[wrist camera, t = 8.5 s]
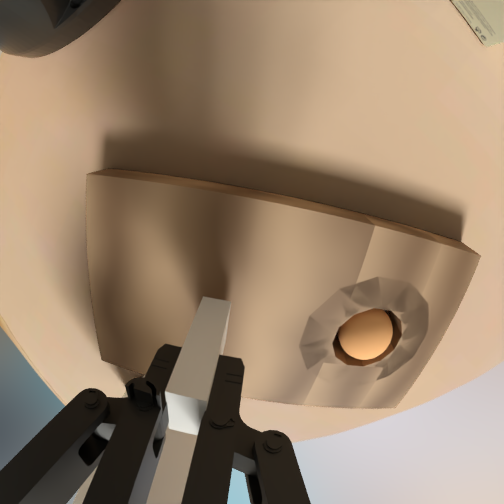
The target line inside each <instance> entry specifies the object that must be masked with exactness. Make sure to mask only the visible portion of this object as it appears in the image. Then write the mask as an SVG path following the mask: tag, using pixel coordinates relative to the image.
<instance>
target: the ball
mask: <svg viewBox="0 0 504 504" xmlns="http://www.w3.org/2000/svg"><path fill="white" fill-rule="evenodd" d="M392 334H393V328H392V323H391V320H390V318H389V316H388V315H387V313H386V312H385V311H384V310H382V309H376V308H373V309H370V310H367V311H364V312H361V313H358V314H354V315H353V316H352V317H351V318H350V319H349V320H347V321H346V322H345V323H344V324H343V325H342V326H340V327H339V341H340V344H341V346H342V348H343V349H344V350H345V352H346V353H347V354H349V355H350V356H352V357H354V358H356V359H361V360H368V359H372V358H375V357H377V356H379V355H380V354H382V353H383V352H384V351H385V350H386V349H387V347H388V346H389V344H390V342H391V339H392Z"/></svg>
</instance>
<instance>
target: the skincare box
mask: <svg viewBox="0 0 504 504" xmlns="http://www.w3.org/2000/svg"><path fill="white" fill-rule="evenodd" d="M451 1H452V3H453V4H454V5H455V6H456V7H457V9H458V10H459V11H460V13H461V14H462V15H463V17H464V18H465V19H466V21H467V22H468V23H469V25H470V26H471V28H472V29H473V30H474V32H475V33H476V34H477V36H478V37H479V39H480V40H481V42H482V43H483V45H484V46H485V47H490V46H493V45H496V44H500V43H503V42H504V0H451Z"/></svg>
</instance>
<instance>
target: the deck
mask: <svg viewBox="0 0 504 504" xmlns="http://www.w3.org/2000/svg"><path fill="white" fill-rule="evenodd" d="M86 241H87V259H88V272H89V282H90V292H91V300H92V308H93V315H94V321H95V327H96V333H97V339H98V344H99V349H100V354H101V359H102V360H103V361H106V362H108V363H111V364H114V365H117V366H120V367H123V368H126V369H129V370H132V371H135V372H138V373H141V374H145V375H146V373H147V371H148V368H149V366H150V365H151V362H152V360H153V359H154V356H155V354H156V352H157V350H158V349H159V348H160V347H162V346H163V345H164V344H165V343H166V344H170V345H174V346H178V347H183V344H184V342H185V339H186V337H187V334H188V332H189V329H190V327H191V325H192V322H193V320H194V317H195V315H196V312H197V310H198V308H199V305H200V303H201V300H202V298H203V296H204V297H209V298H214V299H220V300H225V301H230V302H231V307H230V314H229V321H228V328H227V335H226V341H225V346H224V350H223V355H225V356H230V357H236V358H241V359H242V361H243V364H244V366H245V370H244V377H243V385H242V393H241V397H243V398H249V399H255V400H262V401H269V402H277V403H285V404H294V405H304V406H317V407H333V408H368V409H374V408H396V407H397V405H398V404H399V403H400V401H401V400H402V399H403V397H404V396H405V395H406V393H407V392H408V391H409V389H410V388H411V386H412V385H413V384H414V382H415V381H416V379H417V378H418V376H419V375H420V373H421V372H422V370H423V369H424V367H425V366H426V364H427V363H428V361H429V359H430V358H431V356H432V355H433V353H434V351H435V350H436V348H437V346H438V345H439V343H440V341H441V339H442V338H443V336H444V334H445V332H446V330H447V329H448V327H449V325H450V323H451V321H452V319H453V317H454V315H455V313H456V312H457V310H458V308H459V305H460V303H461V301H462V299H463V297H464V295H465V293H466V291H467V288H468V286H469V284H470V282H471V279H472V277H473V275H474V272H475V270H476V267H477V265H478V262H479V260H480V257H481V256H480V255H479V254H478V253H476V252H475V251H474V250H472V249H471V248H469V247H468V246H466V245H465V244H464V243H462V242H460V241H457V240H453V239H450V238H447V237H444V236H441V235H438V234H434V233H431V232H428V231H424V230H421V229H418V228H414V227H411V226H407V225H404V224H400V223H396V222H393V221H389V220H385V219H382V218H378V217H374V216H370V215H366V214H363V213H359V212H355V211H351V210H347V209H342V208H338V207H334V206H330V205H325V204H321V203H317V202H312V201H308V200H303V199H299V198H294V197H289V196H284V195H279V194H275V193H269V192H264V191H259V190H254V189H249V188H243V187H238V186H232V185H226V184H221V183H215V182H208V181H202V180H196V179H189V178H183V177H176V176H169V175H161V174H154V173H146V172H138V171H129V170H120V169H111V168H108V169H104V170H100V171H96V172H92V173H88V174H87V179H86ZM373 308H376V309H383V310H390V316H389V318H390V320H391V323H392V328H393V334H392V339H391V342H390V344H389V346H388V347H387V349H386V350H385V351H384V352H383V353H382V354H380V355H379V356H377V357H375V358H372V359H368V360H361V359H356V358H354V357H352V356H350V355H349V354H347V353H346V352H345V350H344V349H343V348H342V346H341V344H340V341H339V340H338V339H336V338H335V336H336V333H337V331H338V328H339V327H340V326H342V325H343V324H344V323H345V322H346V321H347V320H349V319H350V318H351V317H352V316H353V315H354V314H358V313H361V312H364V311H367V310H370V309H373Z"/></svg>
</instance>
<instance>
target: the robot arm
mask: <svg viewBox="0 0 504 504" xmlns="http://www.w3.org/2000/svg"><path fill="white" fill-rule="evenodd" d="M119 1H120V0H0V50H1V51H2V52H4V53H7V54H10V55H15V56H22V57H28V58H35V57H41V56H45V55H48V54H50V53H53V52H55V51H57V50H59V49H61V48H63V47H64V46H66V45H68V44H69V43H71V42H72V41H74V40H75V39H77V38H78V37H80V36H81V35H82V34H84V33H85V32H86V31H88V30H89V29H90V28H91V27H93V26H94V25H95V24H96V23H97V22H98V21H100V20H101V19H102V18H103V17H104V16H105V15H106V14H107V13H108V12H109V11H110V10H111V9H112V8H113V7H114V6H115V5H116V4H117V3H118V2H119ZM230 307H231V302H230V301H225V300H220V299H214V298H209V297H204V296H203V298H202V300H201V303H200V305H199V308H198V310H197V312H196V315H195V317H194V320H193V322H192V325H191V327H190V329H189V332H188V334H187V337H186V339H185V342H184V344H183V347H178V346H174V345H170V344H166V343H165V344H164V345H163V346H162V347H160V348H159V349H158V350H157V352H156V354H155V356H154V359H153V360H152V362H151V365H150V366H149V368H148V371H147V373H146V375H145V377H144V378H143V377H139V378H134V379H132V380H130V381H129V382H128V383H127V384H126V385H125V387H126V391H127V395H128V397H125V398H112V397H106V395H105V394H104V393H103V392H102V391H100V390H98V389H94V388H89V389H85V390H83V391H81V392H80V393H79V394H78V395H77V396H76V397H75V398H74V399H73V400H72V401H70V402H69V403H68V404H67V405H66V406H65V407H64V408H63V409H62V410H61V411H60V412H59V413H58V414H57V415H56V416H55V417H54V418H53V419H52V420H51V421H50V422H49V423H48V424H47V425H46V426H45V427H44V428H43V429H42V430H41V431H40V432H39V433H38V434H37V435H36V436H35V437H34V438H33V439H32V440H31V441H30V442H29V443H28V444H27V445H26V446H25V447H24V448H23V449H22V450H21V451H20V452H19V453H18V454H17V455H16V456H15V457H14V458H13V459H12V460H11V461H10V462H9V463H8V464H7V465H6V466H5V467H4V468H3V469H2V470H1V471H0V504H66V503H67V502H68V501H69V500H70V499H71V497H72V496H73V495H74V494H75V493H76V491H77V490H78V489H79V488H80V487H81V485H82V484H83V483H84V482H85V481H86V479H87V478H88V477H89V476H90V475H91V473H92V472H93V471H94V470H95V468H96V467H97V466H98V467H97V469H96V471H95V474H94V476H93V479H92V481H91V483H90V486H89V488H88V491H87V493H86V496H85V498H84V501H83V503H82V504H146V502H147V499H148V496H149V492H150V489H151V485H152V482H153V479H154V476H155V472H156V469H157V466H158V463H159V459H160V456H161V453H162V450H163V446H164V443H165V440H166V429H167V426H169V429H173V430H176V431H181V432H185V433H189V434H194V435H198V436H197V440H196V444H195V448H194V452H193V456H192V460H191V464H190V469H189V473H188V477H187V481H186V485H185V490H184V494H183V498H182V502H181V504H227V500H228V493H229V486H230V479H231V472H232V468H234V469H236V470H238V471H241V472H243V473H245V477H246V482H247V488H248V493H249V498H250V503H251V504H311V503H310V500H309V497H308V494H307V491H306V488H305V485H304V481H303V478H302V475H301V472H300V469H299V465H298V463H297V459H296V456H295V453H294V449H293V446H292V443H291V441H290V439H289V437H288V436H286V435H285V434H284V433H282V432H279V431H276V430H268V431H264V432H260V431H257V430H255V429H252V428H250V427H249V426H247V425H246V424H245V423H244V422H243V421H242V419H241V418H240V415H239V408H240V401H241V393H242V385H243V377H244V370H245V366H244V364H243V361H242V359H241V358H236V357H230V356H225V355H223V350H224V346H225V341H226V335H227V328H228V321H229V314H230Z"/></svg>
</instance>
